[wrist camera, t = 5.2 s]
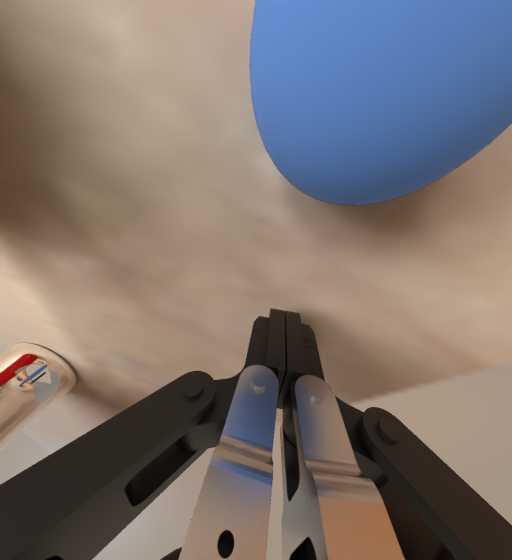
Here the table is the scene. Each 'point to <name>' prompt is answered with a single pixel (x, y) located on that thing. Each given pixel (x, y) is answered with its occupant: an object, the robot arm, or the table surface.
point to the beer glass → (29, 385)
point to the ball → (378, 91)
